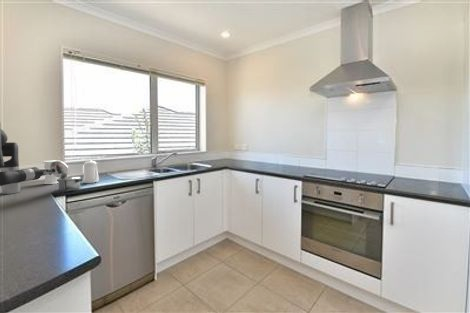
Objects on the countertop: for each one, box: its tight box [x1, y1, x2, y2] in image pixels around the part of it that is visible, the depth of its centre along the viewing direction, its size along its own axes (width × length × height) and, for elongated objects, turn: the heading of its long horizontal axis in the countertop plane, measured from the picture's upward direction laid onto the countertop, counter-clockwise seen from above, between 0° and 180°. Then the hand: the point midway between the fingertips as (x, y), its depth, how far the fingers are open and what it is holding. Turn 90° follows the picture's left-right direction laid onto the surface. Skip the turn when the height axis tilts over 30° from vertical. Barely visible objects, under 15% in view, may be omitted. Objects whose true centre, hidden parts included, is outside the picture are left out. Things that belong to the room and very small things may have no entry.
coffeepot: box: [82, 159, 100, 184], centre depth 194 cm, size 11×25×19 cm, turn 58°
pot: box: [57, 176, 83, 192], centre depth 168 cm, size 14×16×8 cm
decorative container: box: [42, 159, 61, 185], centre depth 190 cm, size 12×12×18 cm
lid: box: [50, 160, 70, 179], centre depth 159 cm, size 13×12×2 cm
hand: (54, 170), depth 155 cm, fingers closed
